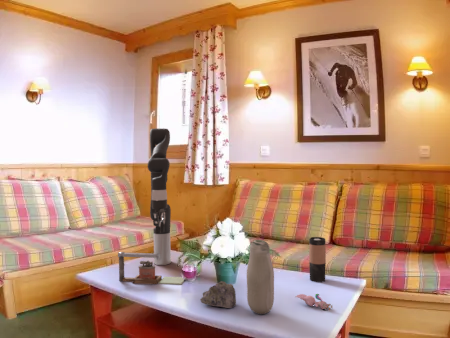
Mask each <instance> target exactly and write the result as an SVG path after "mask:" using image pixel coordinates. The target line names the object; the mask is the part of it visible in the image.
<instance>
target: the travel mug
mask: <svg viewBox="0 0 450 338" xmlns="http://www.w3.org/2000/svg"><path fill="white" fill-rule="evenodd" d="M308 241H309V245H308V247H309V252H308V253H309V256H308V257H309V260H308V261H309V263H308V264H309V267H308V268H309V280H310V281H311V282H313V283H323V282H322V281H324V282H325V281H326V268H327V267H326V264H327V261H326V260H327V259H326V258H327V257H326V256H327V255H326V253H327V252H326V251H327V250H326V249H327V248H326V238H325V237H322V236H321V237H320V236H313V237H310V238H309V239H308Z"/></svg>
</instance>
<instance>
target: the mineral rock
mask: <svg viewBox="0 0 450 338" xmlns="http://www.w3.org/2000/svg"><path fill="white" fill-rule="evenodd" d="M200 302H201V303H202V304H204V305H207V306H213V307H221V308H225V309H227V308H228V309H232V308H234V307H235V306H236V304H237V297H236V289H235V287H234V285H233V284H232V283H226V281H219V282H217V283H215V284H214V285H212V286H210V287H209V288H208V290H205V291H204V292H202V296H201V298H200Z"/></svg>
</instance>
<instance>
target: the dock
mask: <svg viewBox="0 0 450 338" xmlns="http://www.w3.org/2000/svg"><path fill="white" fill-rule="evenodd" d="M118 275H119V276H118V277H119V278H118V281H119V282H128V283H129V282H132V284H138V285H139V284H141V285H142V284H143V285H159V281H161V280H162V279H163V277H162V275H156V274H155V279H139V274H137V275H136V276H135V277H128V276H125V257H118Z"/></svg>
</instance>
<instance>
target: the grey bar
mask: <svg viewBox="0 0 450 338" xmlns="http://www.w3.org/2000/svg"><path fill="white" fill-rule="evenodd" d="M117 257H118V258H119V257H124V258H125V257H126V258H147V259H148V258H152V259H154V258H157V260H159V259H160V254H154V252H153V253H147V252H146V253H145V252H125V251H119V252H117Z"/></svg>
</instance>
